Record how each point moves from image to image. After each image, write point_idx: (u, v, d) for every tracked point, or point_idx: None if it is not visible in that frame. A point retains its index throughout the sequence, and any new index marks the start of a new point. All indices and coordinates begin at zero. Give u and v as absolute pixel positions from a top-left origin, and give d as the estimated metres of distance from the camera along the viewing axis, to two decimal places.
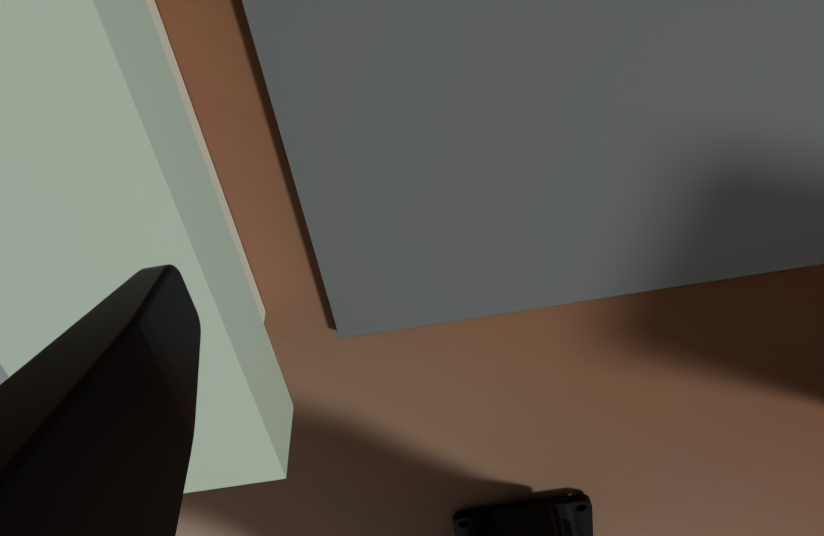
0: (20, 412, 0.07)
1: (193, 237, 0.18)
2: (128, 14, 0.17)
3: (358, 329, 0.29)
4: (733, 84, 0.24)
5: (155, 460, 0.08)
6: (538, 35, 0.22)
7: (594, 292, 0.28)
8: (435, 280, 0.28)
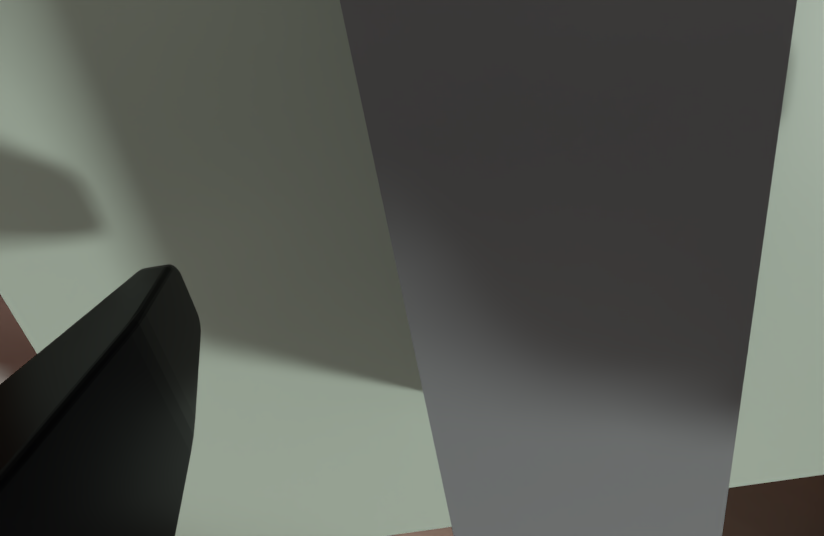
0: (20, 412, 0.07)
1: None
2: None
3: None
4: None
5: (155, 460, 0.08)
6: None
7: None
8: None
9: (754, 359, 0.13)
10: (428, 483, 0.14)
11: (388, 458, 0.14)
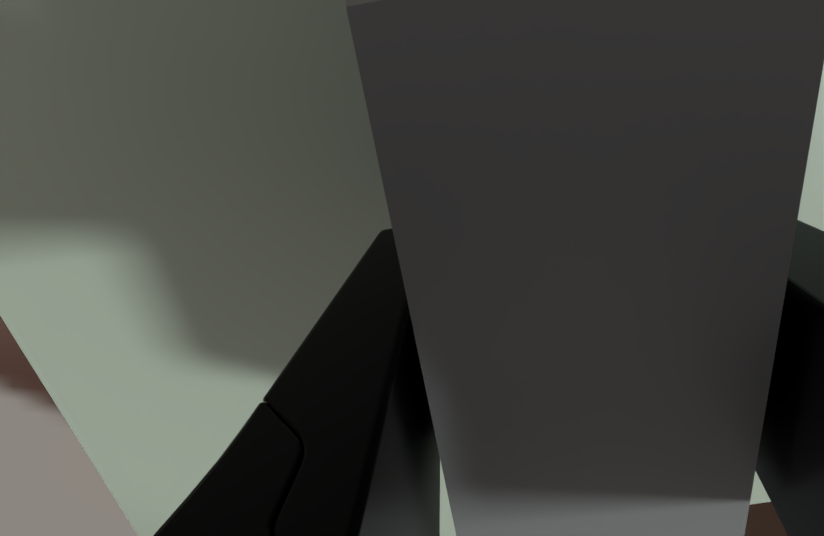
0: (352, 362, 0.06)
1: None
2: None
3: None
4: None
5: (430, 420, 0.08)
6: None
7: None
8: None
9: None
10: None
11: None
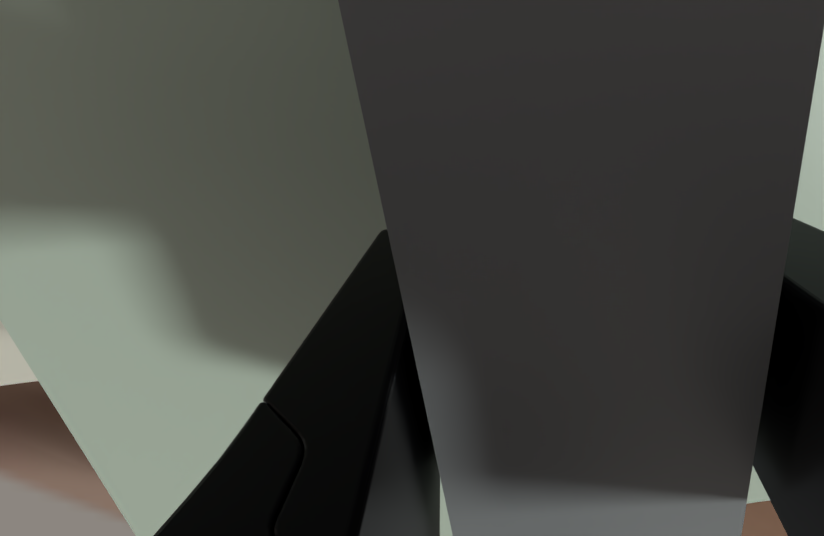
0: (352, 362, 0.06)
1: None
2: None
3: None
4: None
5: None
6: None
7: None
8: None
9: None
10: None
11: None
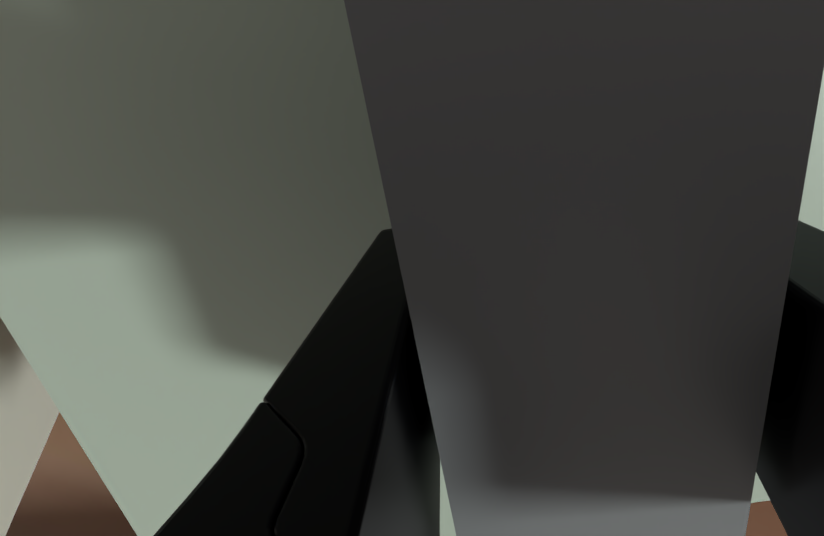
0: (352, 362, 0.06)
1: None
2: None
3: None
4: None
5: (430, 420, 0.08)
6: None
7: None
8: None
9: None
10: None
11: None
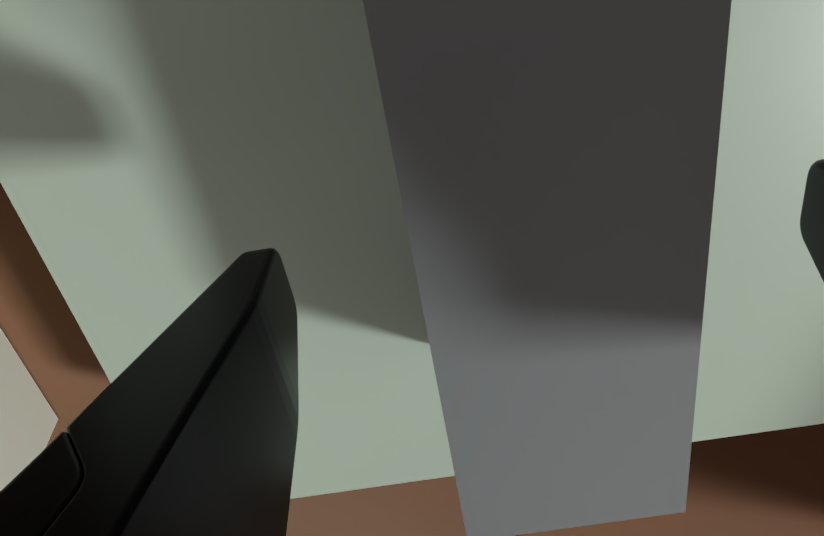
0: (161, 391, 0.07)
1: None
2: None
3: None
4: None
5: (272, 443, 0.08)
6: None
7: None
8: None
9: (730, 313, 0.14)
10: (427, 433, 0.15)
11: (390, 408, 0.15)
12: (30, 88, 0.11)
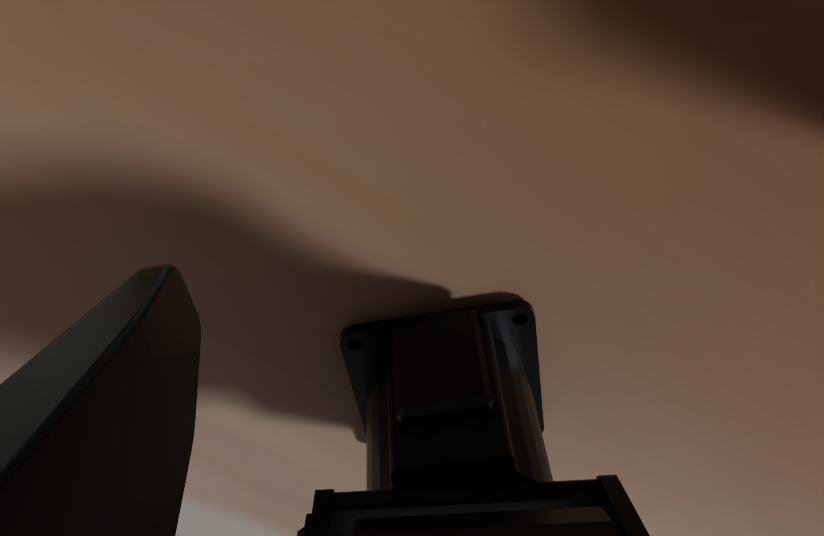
0: (20, 412, 0.07)
1: None
2: None
3: None
4: None
5: (155, 460, 0.08)
6: None
7: None
8: None
9: None
10: None
11: None
12: None
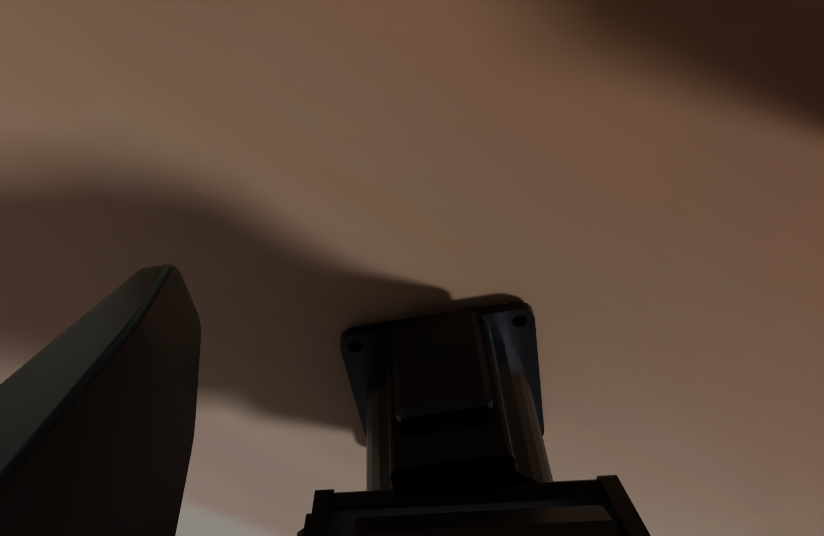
0: (20, 412, 0.07)
1: None
2: None
3: None
4: None
5: (155, 460, 0.08)
6: None
7: None
8: None
9: None
10: None
11: None
12: None
